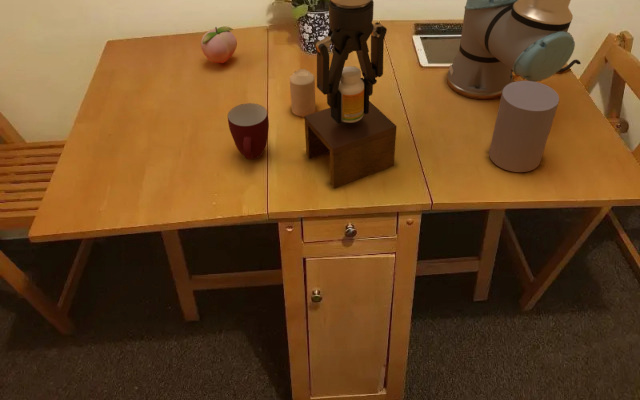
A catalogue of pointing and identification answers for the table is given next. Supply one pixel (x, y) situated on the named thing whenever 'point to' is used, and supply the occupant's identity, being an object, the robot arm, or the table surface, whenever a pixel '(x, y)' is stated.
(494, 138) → the container
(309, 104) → the candle
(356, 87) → the supplement bottle
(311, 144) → the shelf
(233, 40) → the decorative fruit
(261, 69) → the table surface
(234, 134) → the mug
